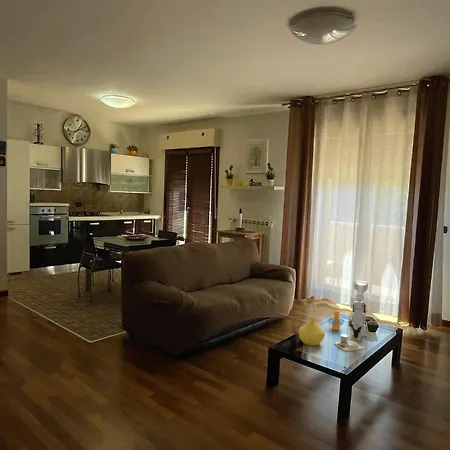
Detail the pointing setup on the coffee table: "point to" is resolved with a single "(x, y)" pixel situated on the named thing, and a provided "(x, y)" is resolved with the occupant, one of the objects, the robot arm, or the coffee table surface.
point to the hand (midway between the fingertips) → (356, 336)
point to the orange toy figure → (336, 321)
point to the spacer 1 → (344, 338)
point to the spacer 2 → (358, 336)
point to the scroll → (353, 311)
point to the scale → (349, 346)
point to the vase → (311, 333)
